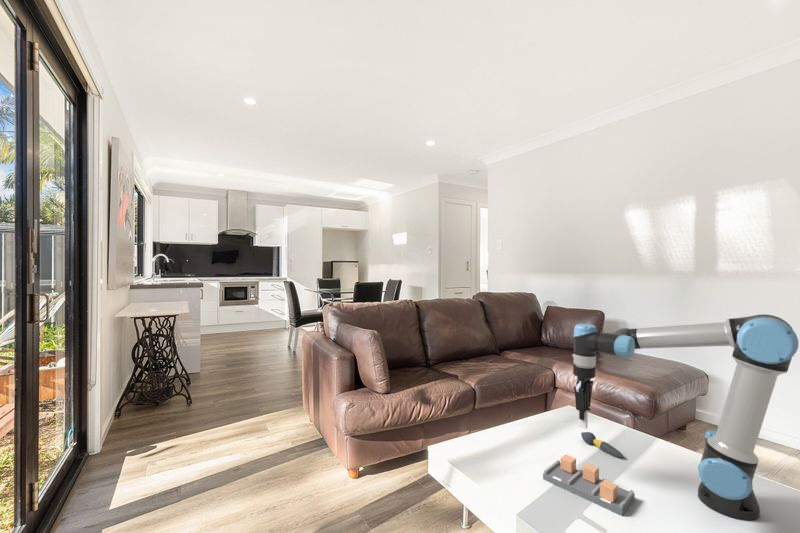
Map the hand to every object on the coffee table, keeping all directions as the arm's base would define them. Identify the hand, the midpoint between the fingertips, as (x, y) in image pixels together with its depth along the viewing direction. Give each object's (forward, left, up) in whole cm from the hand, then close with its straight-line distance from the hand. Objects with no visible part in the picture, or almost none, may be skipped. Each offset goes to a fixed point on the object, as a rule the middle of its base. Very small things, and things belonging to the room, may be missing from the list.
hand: (582, 427), depth 139 cm
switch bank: (-5, +10, -17) cm, 20 cm away
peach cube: (-5, +6, -15) cm, 17 cm away
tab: (-13, +12, -15) cm, 24 cm away
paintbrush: (+2, -24, -18) cm, 30 cm away
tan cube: (+3, +6, -15) cm, 16 cm away
